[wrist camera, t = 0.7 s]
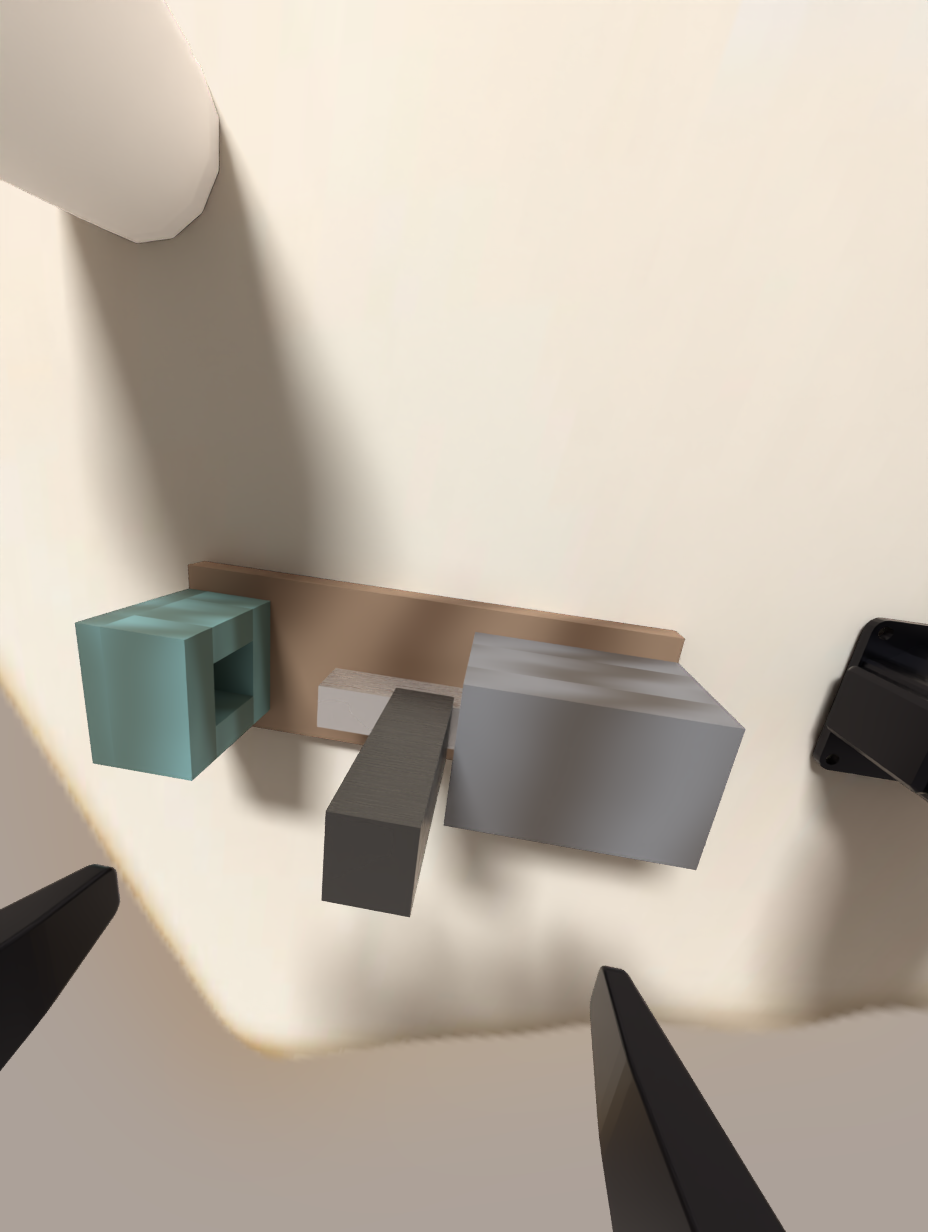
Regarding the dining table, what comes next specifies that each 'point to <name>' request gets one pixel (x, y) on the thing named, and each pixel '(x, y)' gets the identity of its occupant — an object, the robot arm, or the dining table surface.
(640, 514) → the dining table surface
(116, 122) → the foam cup
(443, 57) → the dining table surface
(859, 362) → the dining table surface
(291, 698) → the wooden long base
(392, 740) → the angled grey metal bar
